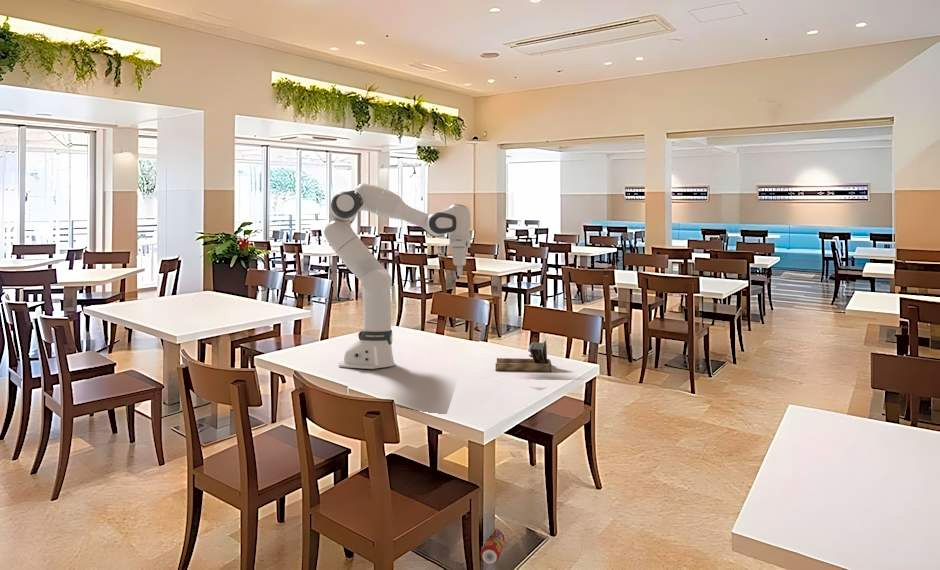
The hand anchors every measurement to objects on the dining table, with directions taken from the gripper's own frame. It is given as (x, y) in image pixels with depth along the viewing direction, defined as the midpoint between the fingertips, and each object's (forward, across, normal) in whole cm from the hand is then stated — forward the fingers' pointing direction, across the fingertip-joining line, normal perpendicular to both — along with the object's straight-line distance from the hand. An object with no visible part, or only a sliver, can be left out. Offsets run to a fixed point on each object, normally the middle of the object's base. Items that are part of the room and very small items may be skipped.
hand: (459, 276), depth 261 cm
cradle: (+37, +9, +27) cm, 47 cm away
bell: (+37, +6, +32) cm, 50 cm away
